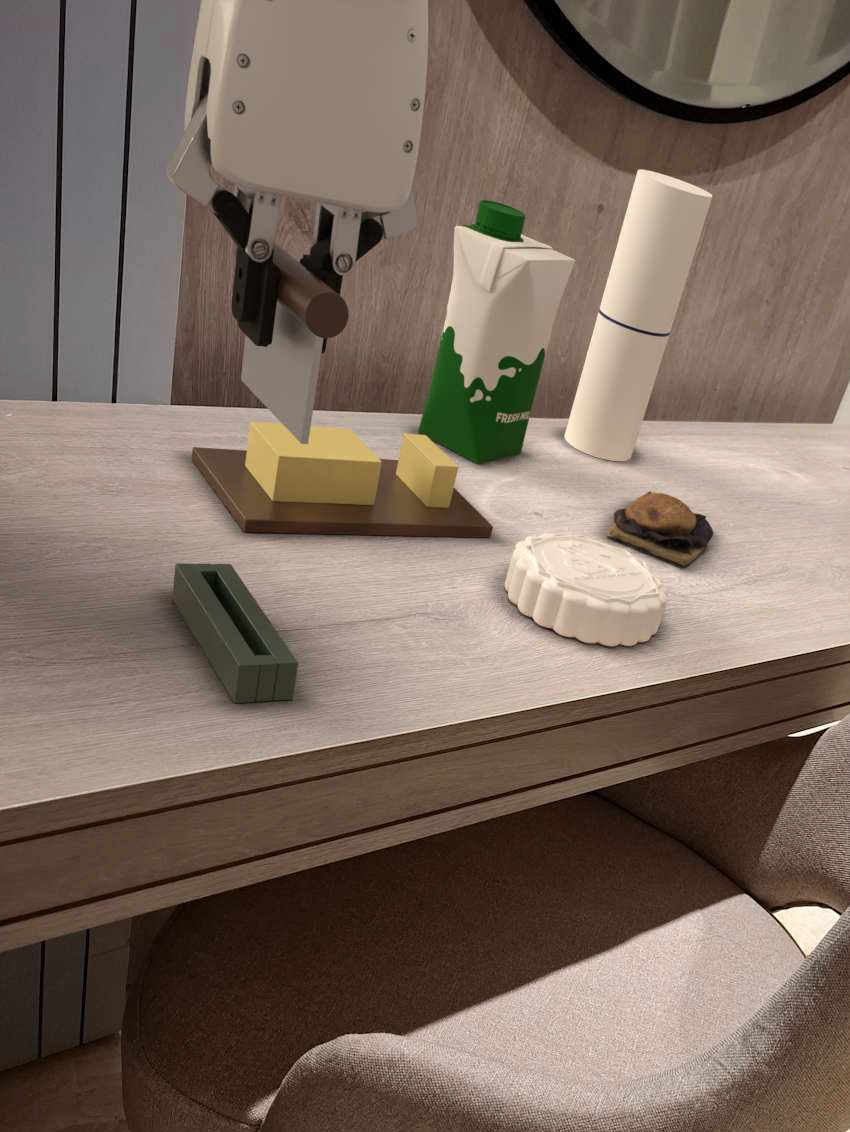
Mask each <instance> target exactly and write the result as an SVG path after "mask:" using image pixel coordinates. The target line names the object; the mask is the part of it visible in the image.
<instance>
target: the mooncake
mask: <svg viewBox="0 0 850 1132" xmlns="http://www.w3.org/2000/svg"><path fill="white" fill-rule="evenodd" d="M505 577H506V578H505V581H504V588H505V591H506V592H507V597H508V600H509V601H510V602H511V603H512V604H514V605H515V606H517V610H518V611H519V612H520V613H521V614H522V615H524V616H526V617H529V618H532V619H533V621H534V623H536V624H537V625H538V626H541V627H542V628H545V629H546V628H547V629H552V630H553V631H554V632H555V633H556V634H558V635H560V636H562V637H566V638H575V639H577V640H578V641H580V642H582V643H586V644H600V645H603V646H604V647H605V646H606V647H616V646H618V645H621V646H626V647H632V646H635V645H636V644H637V643H644V642H648V641H649V640H650V639H651V637H652V636H653V635H656V633H657V632H658V630H659V627H660V624H661V621H662V619H663V616H664V613H665V610H666V607H667V605H668V602H669V598H668V595H669V589H668V587H667V585H666V584H664V580H663V578H662V576H660V574H658V573H656V572H655V571H653V569H652V568H651V566H650V565H648V564H647V563H646V561H645V560H643V559H641V558H638V557H635V556H634V555H633V554H631V553H630V552H629V551H628V550H627V549H623V548H620V547H616V546H613V545H611V544H608V543H603V542H600V541H598V540H595V539H593V538H591V537H589V536H586V535H584V534H575V535H572V534H569V533H566V532H562V531H560V532H557V533H549V532H545V533H544V532H543V533H541V534H539V535H529V536H526V537H525V539H524V540H521V541H517V543H516V544H515V546H514V550H513V552H512V555H511V559H510V561H509V566H508V569H507V574H506V576H505Z"/></svg>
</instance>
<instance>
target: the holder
mask: <svg viewBox="0 0 850 1132" xmlns="http://www.w3.org/2000/svg"><path fill="white" fill-rule="evenodd" d="M174 566H175V567H174V576H173V586H172V597H171V599H172V602H173V603H174V605H175V607H176V609H177V610H178V612H179V613H180V615H181V617H182V618H183V620H184V622H185V623H186V625H187V627H188V628H189V630H190V632H191V634H192V635H193V637H194V639H195V640H196V642H197V643H198V645H199V646H200V649H201V650H202V651H203V653H204V655H205V656H206V658H207V660H208V662H209V664H210V665H211V666H212V668H213V670H214V671H215V674H216V675H217V676H218V678H219V680H220V681H221V683H222V685H223V686H224V688H225V690H226V692H227V693H228V695H229V697H230V698H231V699H232V701H233V703H234V704H245V703H255V702H257V703H258V702H272V701H273V702H274V701H291V700H293V699H294V693H295V687H296V680H297V675H298V668H299V661H298V660H297V659H296V657H295V656H294V654H293V653H292V651H291V650H290V648H289V647H288V646H287V644H286V642H285V641H284V640H283V638H282V637H281V635H280V634H279V632H278V631H277V630H276V627H274V625H273V624H272V623H271V621H270V619H269V618H268V616H267V614H266V613H265V612H264V610H263V609H262V607H261V606H260V605H259V604H258V602H257V600H256V599H255V597H254V596H253V594H252V593H251V591H250V590H249V589H248V586H246V584H245V583H244V581H243V580H242V578H241V577H240V575H239V574H238V572H237V571H236V570H235V568H234V567H233V566H232V564H231V563H182V562H181V563H180V562H179V563H175V565H174Z"/></svg>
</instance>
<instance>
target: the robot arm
mask: <svg viewBox="0 0 850 1132" xmlns="http://www.w3.org/2000/svg"><path fill="white" fill-rule="evenodd" d="M428 49H429V0H201V3H200V7H199V14H198V19H197V24H196V30H195V36H194V42H193V49H192V55H191V56H192V57H191V61H190V67H189V76H188V84H187V91H186V99H185V108H184V133H183V134H182V136H181V138H180V140H179V141H178V144H177V145H176V147H175V149H174V150H173V153H172V154H171V157H170V158H169V160H168V162H167V164H166V167H165V174H166V176H167V180H169V181H170V183H172V184H173V185H174V186H176V188H177V189H179V190H180V191H181V192H183V193H184V194H186V195H187V196H188V197H190V198H192V199H193V200H195V201H196V202H197V203H199V204H200V205H202V206H203V207H204V208H205V209H208V210H210V211H211V212H212V213H213V215H214V216H215V217H216V219H217V221H218V222H219V223H220V224H221V226H222V227H223V229H224V230H225V232H227V234H228V235H229V238H230V240H231V242H233V243H234V244H235V246H236V245H237V256H236V260H235V264H234V265H235V266H234V267H235V268H234V275H233V286H232V294H231V295H232V296H231V313H232V316H233V317H234V319H235V320H236V321H237V326H238V329H239V330H241V332H243V334H244V335H245V337H246V336H247V337H248V338H249V339H250V340H251V341H252V342H253V343H254V344H255V345H256V346H262V347H267V346H268V344H269V345H270V344H271V343H272V338H273V330H274V322H275V314H276V306H277V298H278V287H279V282H280V268H279V267H278V266H277V265H276V264H274V263H273V254H274V249H273V243H274V242H275V236H276V235H275V234H276V228H277V224H278V223H277V222H278V216H279V210H280V209H279V207H280V202H281V196H282V197H288V198H293V199H298V200H303V201H309V202H313V203H316V207H315V217H314V225H313V232H312V233H313V235H312V242H311V243H312V244H311V247H310V251H309V254H305V253H303V255H302V258H300V259H299V261H298V262H299V263H301V264H302V265H303V266H304V267H306V268H307V269H308V270H309V271H311V272H312V273H313V274H314V275H315V276H317V277H318V278H319V279H320V280H322V281H323V282H324V283H325V284H327V285H328V286H329V287H330V288H332V289H333V290H334V291H335V292H336V293H338V294H339V295H340V296H341V293H342V292H341V291H342V285H343V278H344V276H348V275H350V274H351V273H352V272H353V271H354V269H355V266H356V262H358V261H359V260H360V259H361V258H362V257H364V256H365V255H366V254H367V253H369V252H370V251H372V250H373V248H375V247H376V246H377V245H378V244H379V243H380V242H381V241H383V240H385V241H387V240H391V239H394V238H397V237H400V236H403V235H407V234H409V233H412V232H414V231H416V230H417V228H418V226H419V222H420V221H419V220H420V218H419V213H418V208H417V202H416V196H415V191H414V186H413V182H414V177H415V172H416V166H417V162H418V155H419V150H420V149H419V148H420V141H421V133H422V128H423V127H422V126H423V118H424V108H425V100H426V99H425V97H426V86H427V74H428ZM211 167H213V169H214V170H215V171H216V172H217V173H218V175H220V177H222V178H223V179H225V180H227V181H228V182H230V183H232V184H234V188H233V192H232V191H231V190H229V189H228V188H227V187H225V185H223V184H221V183H220V182H219V181H217V180H215V179H214V178H213V177H212V175H211ZM327 343H328V338H323V345H322V352H321V354H324V353H325V352H326V349H327Z"/></svg>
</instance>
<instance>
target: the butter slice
mask: <svg viewBox="0 0 850 1132" xmlns="http://www.w3.org/2000/svg"><path fill="white" fill-rule="evenodd" d="M397 460H398V465H397V470H396V475H397V476H398V477H399V478H400V479H401V480H402V481H403V482H404V483H405V484H406V485H407V486H408V488H409V489H410V490H411V491H412V492H413V493H414V494H415V495H416V496H417V497H418V498H419V499H420V500H421V501H422V502H423V503H424V504H425V505H426V506H427V507H437V508H449V506H450V502H451V497H452V493H453V489H454V488H455V484H456V479H457V476H458V471H459V466H458V465H457V464H456V463H455V462H454V461H453V460H452V459H451V458H450V457H449V456H448V455H447V454H446V453H445V452H444V451H443V450H442V449H441V448H440V447H439V446H438V445H436V443H435V442H434V441H433V440H432V439H430V438H428V437H427V436H426V435H422V434H419V433H418V434H417V433H406V432H405V433H403V436H402V441H401V445H400V450H399V456H398V459H397Z"/></svg>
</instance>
